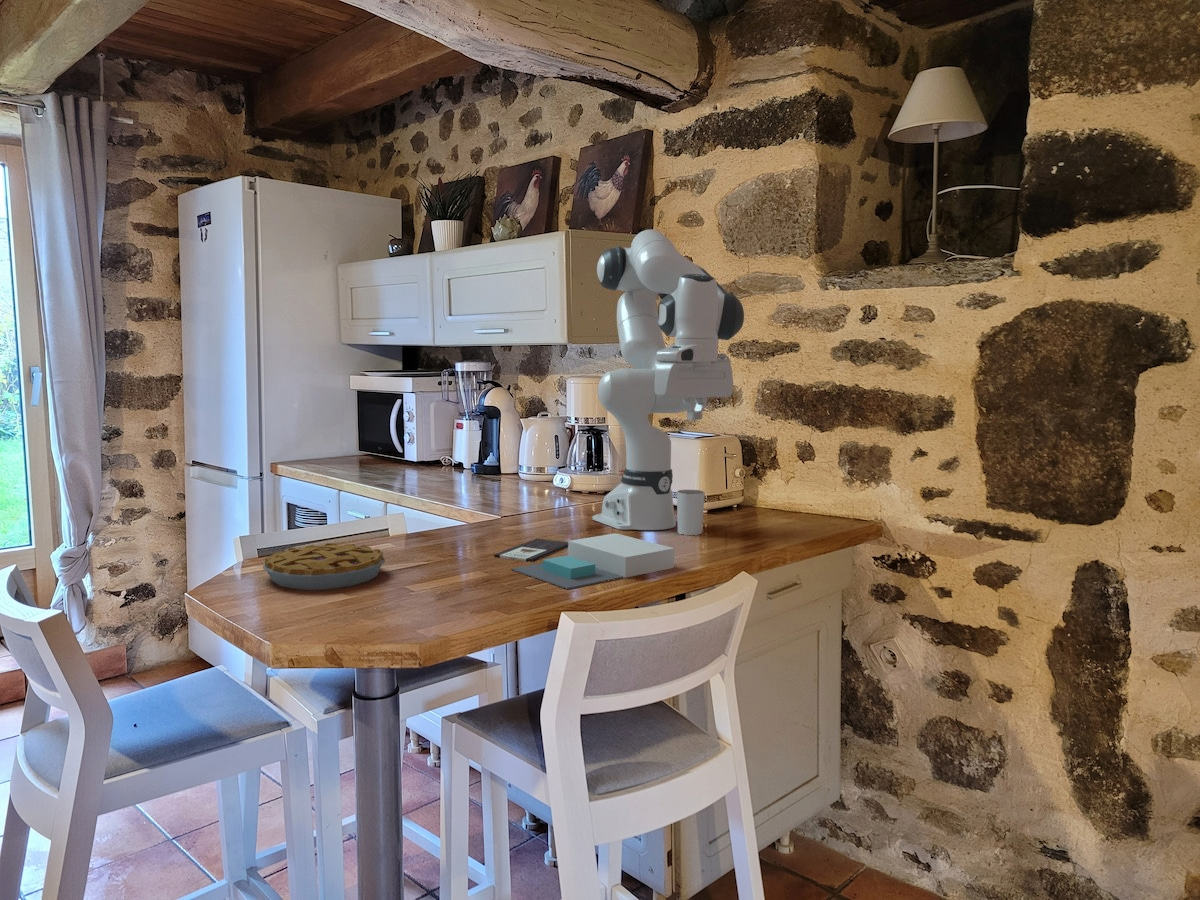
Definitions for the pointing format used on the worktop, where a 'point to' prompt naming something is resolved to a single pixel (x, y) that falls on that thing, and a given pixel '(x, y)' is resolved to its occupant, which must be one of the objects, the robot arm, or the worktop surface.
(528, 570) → the mat
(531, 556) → the chocolate bar
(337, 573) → the pie
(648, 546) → the grey flat block
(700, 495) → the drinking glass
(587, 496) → the worktop surface
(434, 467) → the worktop surface
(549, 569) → the teal block
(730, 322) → the robot arm
